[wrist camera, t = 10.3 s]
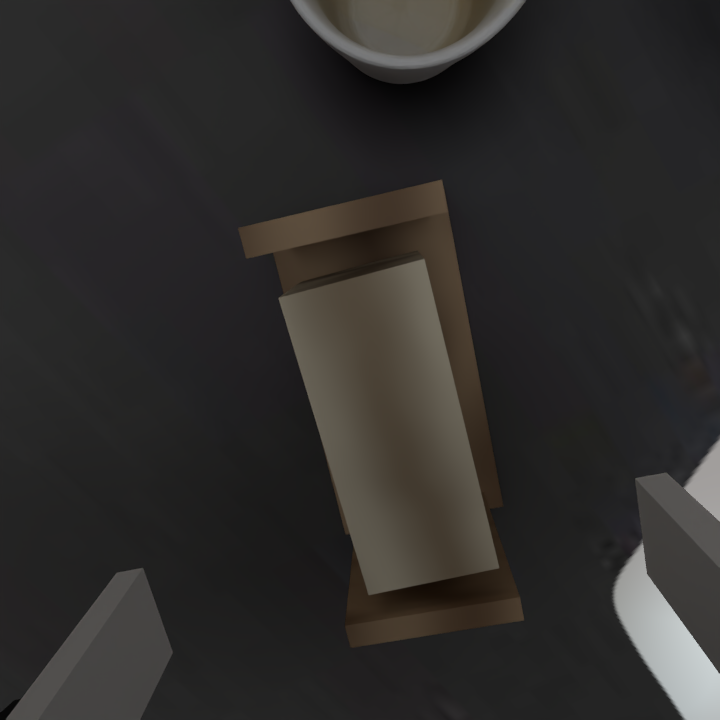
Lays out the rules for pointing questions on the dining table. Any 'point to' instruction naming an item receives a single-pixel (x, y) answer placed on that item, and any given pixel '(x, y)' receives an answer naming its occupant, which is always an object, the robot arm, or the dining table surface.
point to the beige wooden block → (391, 422)
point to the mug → (406, 32)
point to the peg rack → (436, 245)
